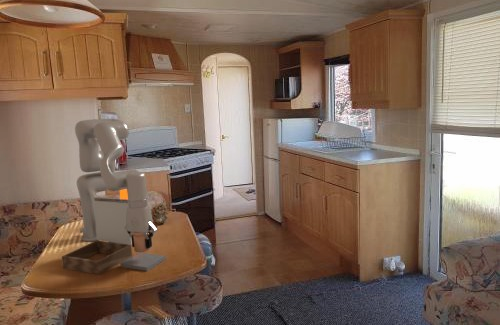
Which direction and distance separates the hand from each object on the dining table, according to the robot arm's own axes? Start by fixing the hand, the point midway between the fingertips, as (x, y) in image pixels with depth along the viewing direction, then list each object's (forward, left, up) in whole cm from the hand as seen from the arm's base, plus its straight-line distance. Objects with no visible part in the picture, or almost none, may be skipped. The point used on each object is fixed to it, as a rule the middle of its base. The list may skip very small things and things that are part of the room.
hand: (142, 246), depth 165 cm
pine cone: (-25, +46, -7) cm, 52 cm away
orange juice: (-41, +42, -7) cm, 59 cm away
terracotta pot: (0, 0, -1) cm, 1 cm away
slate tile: (0, 0, -7) cm, 7 cm away
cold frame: (-19, -5, -7) cm, 21 cm away
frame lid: (-19, +5, +8) cm, 21 cm away
